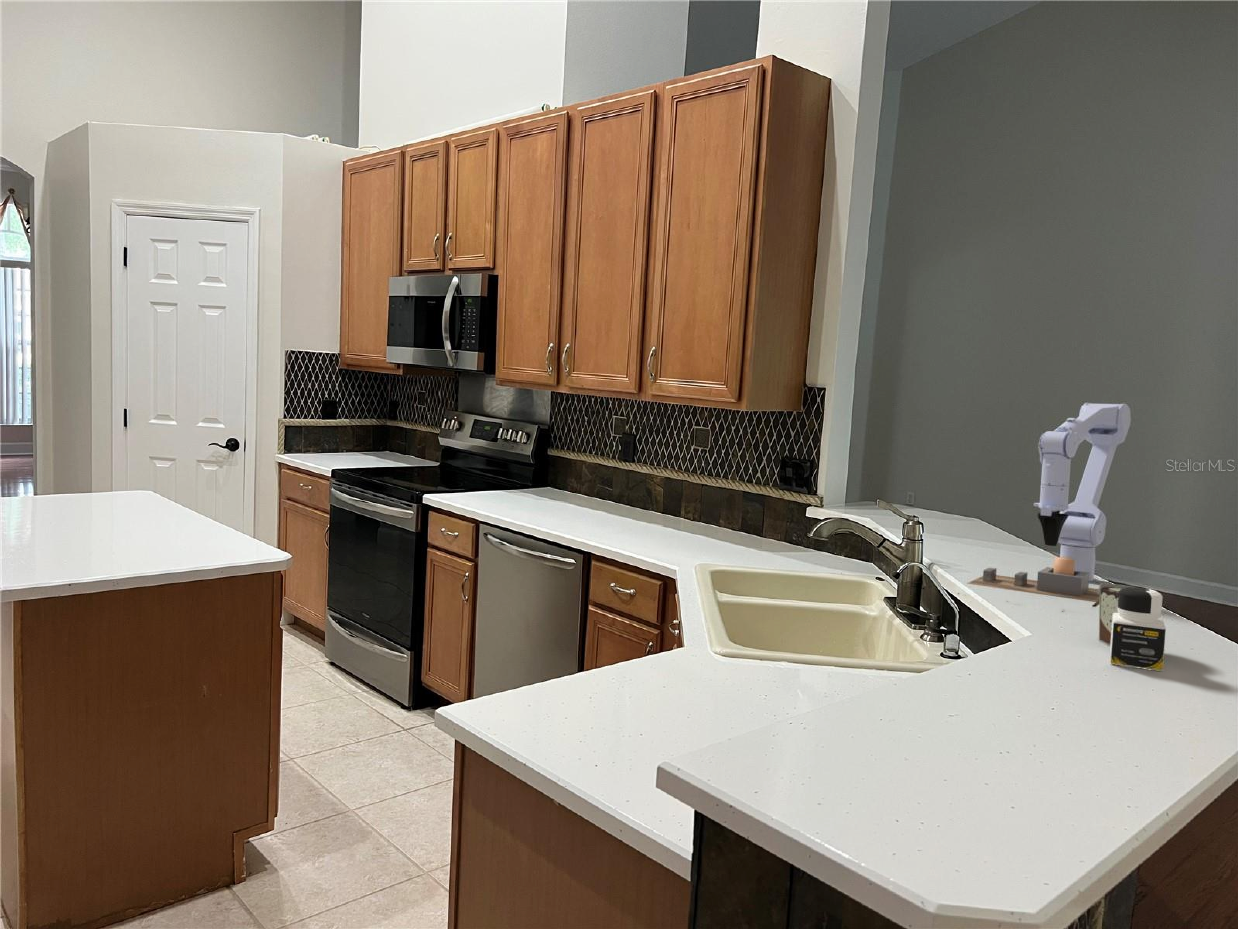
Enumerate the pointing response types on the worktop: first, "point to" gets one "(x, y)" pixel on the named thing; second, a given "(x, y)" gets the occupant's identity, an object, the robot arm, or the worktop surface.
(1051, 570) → the socket
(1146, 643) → the medicine bottle
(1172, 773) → the worktop surface
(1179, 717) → the worktop surface
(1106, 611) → the food container
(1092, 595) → the dock board
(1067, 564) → the peg
